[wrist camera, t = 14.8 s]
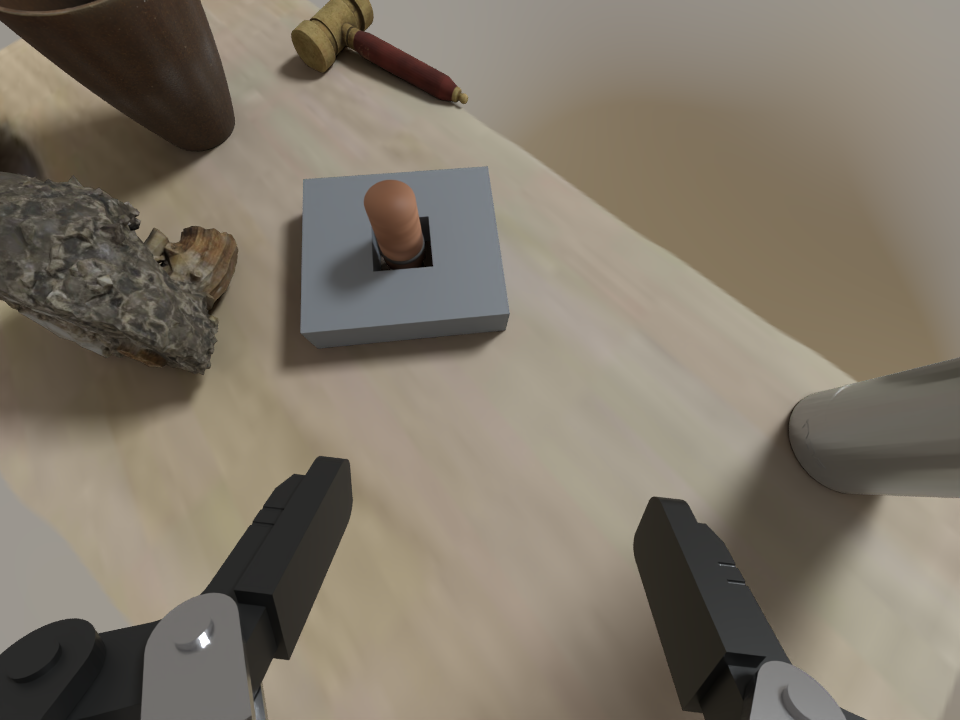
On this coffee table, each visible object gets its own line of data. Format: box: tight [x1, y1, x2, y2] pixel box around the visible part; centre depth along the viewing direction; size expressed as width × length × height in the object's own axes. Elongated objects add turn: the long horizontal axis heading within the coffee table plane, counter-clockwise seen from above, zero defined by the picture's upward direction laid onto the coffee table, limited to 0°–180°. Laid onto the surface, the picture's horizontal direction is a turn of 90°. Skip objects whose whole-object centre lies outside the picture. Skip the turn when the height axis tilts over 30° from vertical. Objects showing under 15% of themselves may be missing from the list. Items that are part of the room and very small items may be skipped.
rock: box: [0, 172, 238, 375], centre depth 31 cm, size 18×14×15 cm
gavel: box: [291, 0, 468, 104], centre depth 47 cm, size 21×5×10 cm
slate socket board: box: [301, 166, 510, 348], centre depth 38 cm, size 18×16×4 cm
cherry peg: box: [364, 180, 425, 270], centre depth 35 cm, size 4×4×10 cm
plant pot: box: [0, 0, 235, 151], centre depth 37 cm, size 15×15×16 cm
